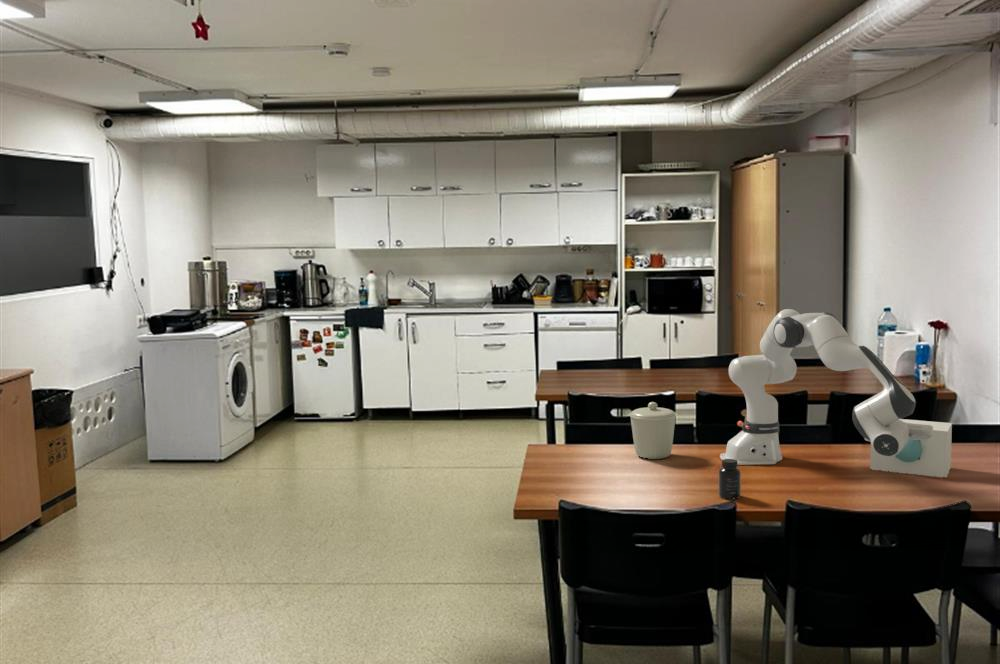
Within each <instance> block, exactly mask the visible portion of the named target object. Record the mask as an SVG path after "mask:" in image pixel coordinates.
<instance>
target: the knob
mask: <svg viewBox="0 0 1000 664" xmlns="http://www.w3.org/2000/svg"><path fill="white" fill-rule="evenodd" d="M920 442H921V440H913V439H909V440H908V441H907V443H906V445H905V446H904V448H903V449H902V450H901V451H900V452H899V453H898V454H897V455H895V456H896V457H897V458H898V459H900V460H901V461H904V462H914V461H916V460H917V459H918V458H919V457H920V456H921V454H922V445H921V443H920Z"/></svg>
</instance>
